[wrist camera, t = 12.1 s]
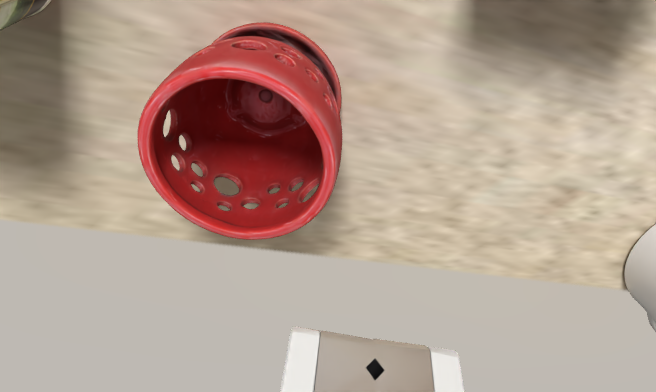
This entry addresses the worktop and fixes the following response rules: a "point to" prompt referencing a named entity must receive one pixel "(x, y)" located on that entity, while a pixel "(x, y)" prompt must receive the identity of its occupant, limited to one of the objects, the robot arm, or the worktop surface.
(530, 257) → the worktop surface
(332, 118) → the plant pot
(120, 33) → the worktop surface
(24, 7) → the coffee can
